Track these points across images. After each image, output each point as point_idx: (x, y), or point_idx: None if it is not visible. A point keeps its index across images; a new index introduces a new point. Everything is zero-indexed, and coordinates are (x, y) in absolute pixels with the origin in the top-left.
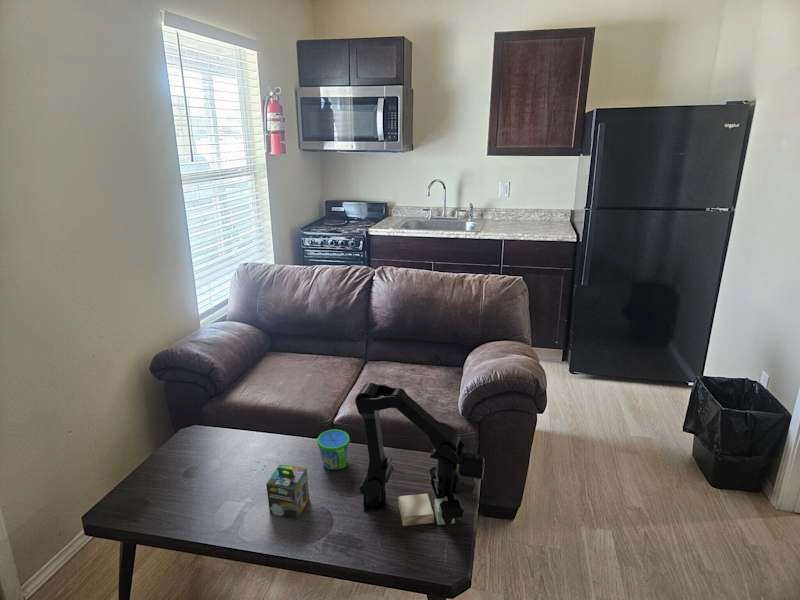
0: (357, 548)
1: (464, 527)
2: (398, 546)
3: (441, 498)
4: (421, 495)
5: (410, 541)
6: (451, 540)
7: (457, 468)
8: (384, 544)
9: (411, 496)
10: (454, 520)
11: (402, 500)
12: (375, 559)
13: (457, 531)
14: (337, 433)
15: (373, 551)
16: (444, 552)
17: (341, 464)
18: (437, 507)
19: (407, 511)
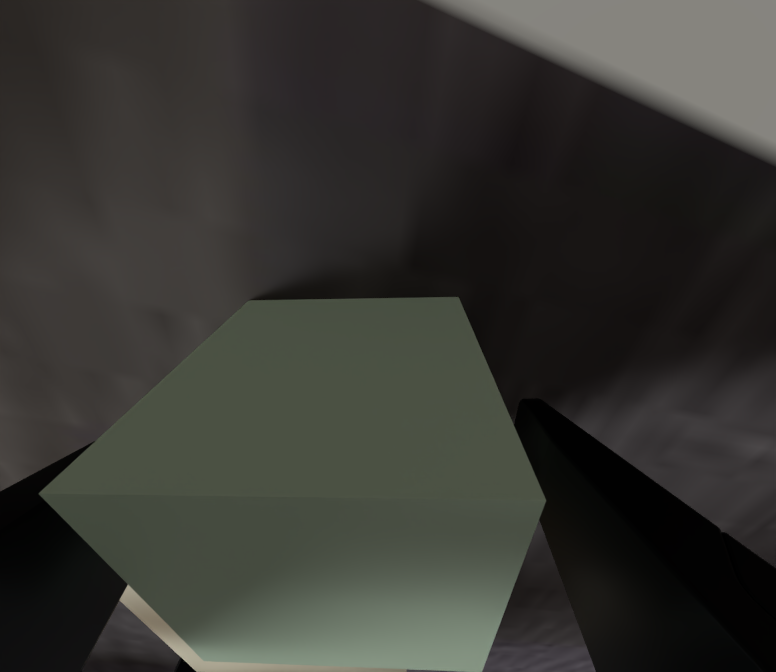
0: None
1: (574, 180)
2: (550, 614)
3: (161, 616)
4: (139, 601)
5: (540, 580)
6: (683, 381)
7: None
8: (513, 640)
9: (177, 639)
10: (467, 321)
11: (237, 668)
12: (582, 661)
13: (598, 295)
14: None
15: (536, 661)
16: (768, 456)
17: None
18: (391, 666)
19: (354, 668)
